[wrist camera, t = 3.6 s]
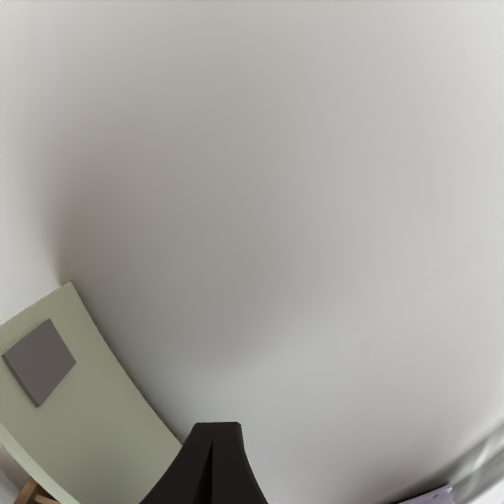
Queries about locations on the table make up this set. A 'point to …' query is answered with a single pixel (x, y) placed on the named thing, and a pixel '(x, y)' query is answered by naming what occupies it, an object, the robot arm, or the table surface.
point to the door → (76, 408)
